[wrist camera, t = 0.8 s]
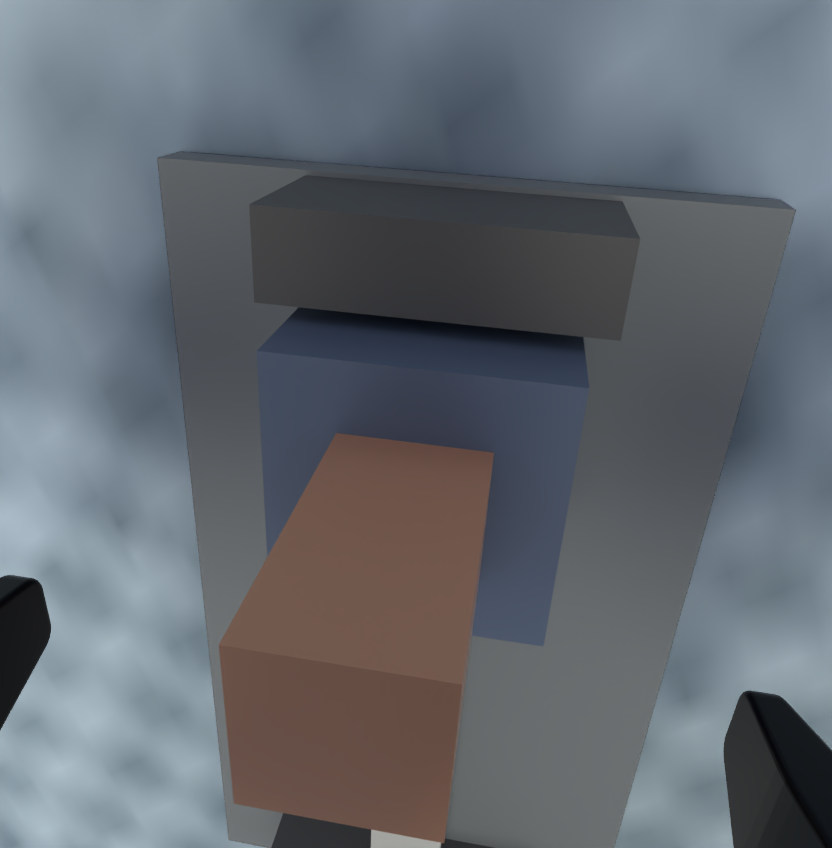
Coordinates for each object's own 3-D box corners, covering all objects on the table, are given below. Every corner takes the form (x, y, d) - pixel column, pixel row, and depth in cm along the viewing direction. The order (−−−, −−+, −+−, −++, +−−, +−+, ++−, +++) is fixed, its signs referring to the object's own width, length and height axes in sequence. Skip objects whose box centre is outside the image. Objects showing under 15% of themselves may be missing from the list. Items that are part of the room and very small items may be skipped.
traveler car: (544, 545, 16) (540, 927, 9) (315, 513, 16) (146, 848, 9) (581, 320, 13) (614, 604, 6) (312, 293, 14) (85, 527, 7)
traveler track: (594, 879, 24) (604, 1067, 19) (239, 812, 25) (174, 973, 21) (780, 199, 14) (886, 269, 10) (180, 151, 15) (30, 192, 11)
